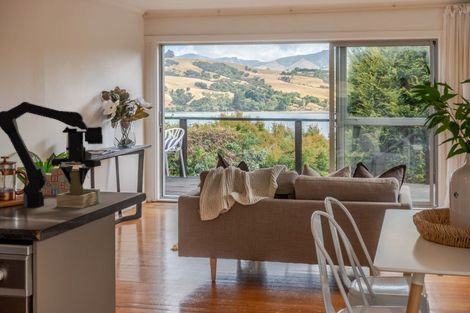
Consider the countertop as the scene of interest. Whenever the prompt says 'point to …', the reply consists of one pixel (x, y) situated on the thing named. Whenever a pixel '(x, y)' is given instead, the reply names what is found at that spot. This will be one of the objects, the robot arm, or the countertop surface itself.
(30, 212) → the countertop surface
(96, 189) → the track and backstop
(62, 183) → the stack of blocks
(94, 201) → the socket block
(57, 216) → the countertop surface
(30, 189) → the robot arm
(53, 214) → the countertop surface
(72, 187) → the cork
